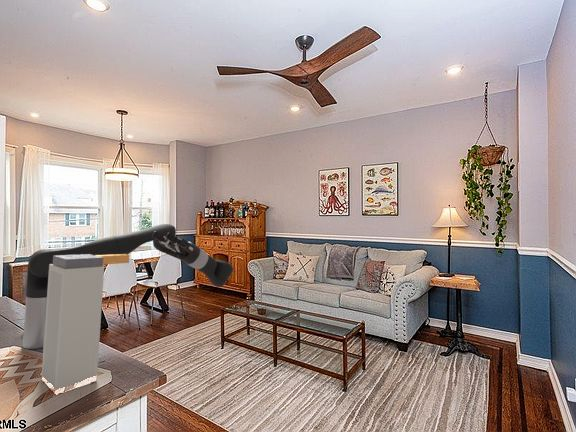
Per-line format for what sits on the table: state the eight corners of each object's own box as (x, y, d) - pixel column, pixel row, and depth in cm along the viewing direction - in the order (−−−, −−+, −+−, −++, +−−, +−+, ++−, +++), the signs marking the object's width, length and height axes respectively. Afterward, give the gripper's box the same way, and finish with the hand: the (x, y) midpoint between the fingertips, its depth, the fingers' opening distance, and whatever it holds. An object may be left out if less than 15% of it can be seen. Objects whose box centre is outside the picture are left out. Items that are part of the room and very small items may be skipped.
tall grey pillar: (41, 379, 87) (49, 264, 88) (79, 368, 94) (87, 262, 95) (55, 395, 79) (64, 269, 80) (96, 381, 87) (104, 266, 88)
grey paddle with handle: (52, 264, 87) (53, 255, 88) (119, 260, 102) (119, 252, 102) (65, 268, 81) (66, 259, 81) (134, 264, 96) (134, 255, 96)
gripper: (200, 266, 113) (166, 245, 102) (177, 262, 121) (143, 242, 110) (209, 248, 116) (177, 225, 105) (186, 245, 124) (154, 224, 113)
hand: (160, 234), depth 108 cm, fingers open, 8 cm apart
